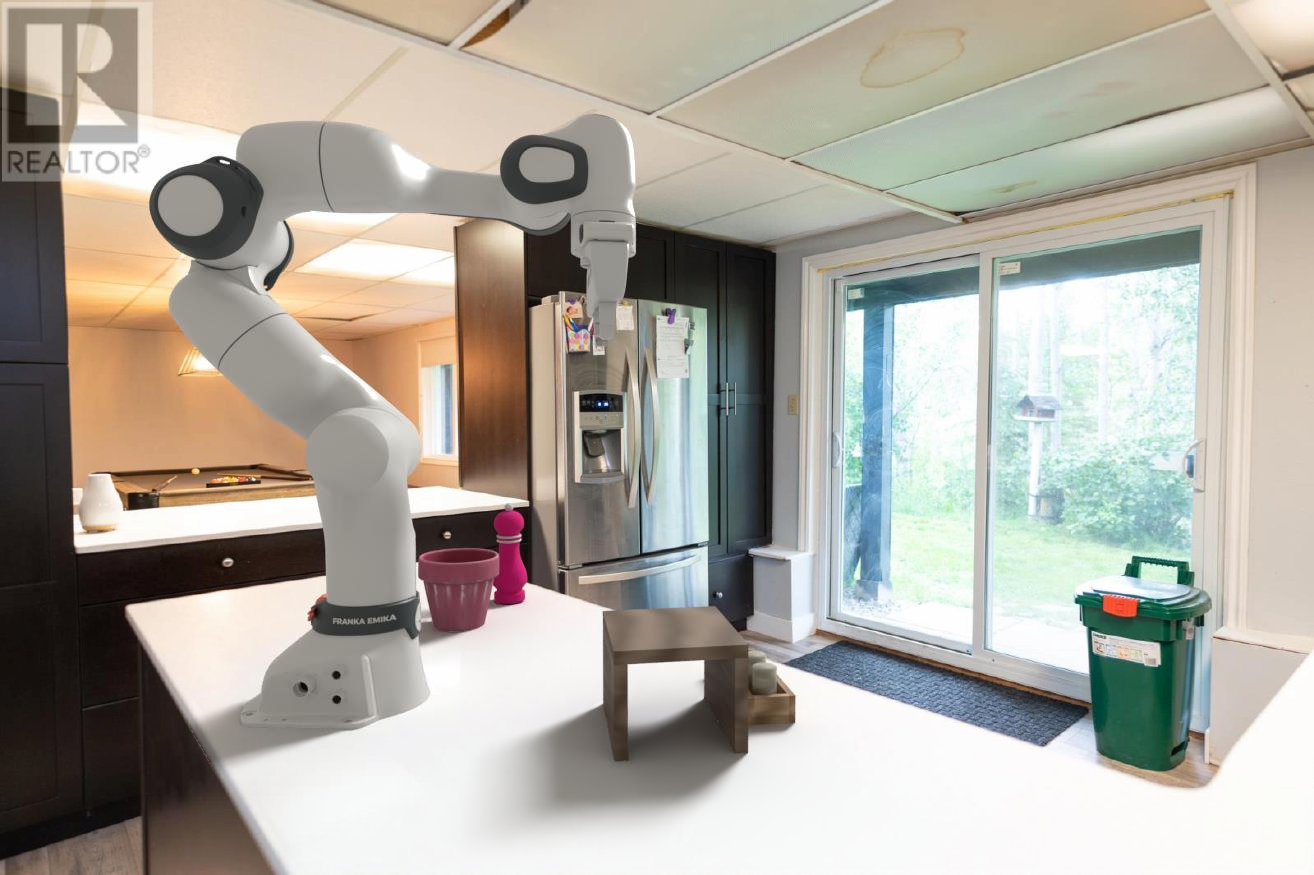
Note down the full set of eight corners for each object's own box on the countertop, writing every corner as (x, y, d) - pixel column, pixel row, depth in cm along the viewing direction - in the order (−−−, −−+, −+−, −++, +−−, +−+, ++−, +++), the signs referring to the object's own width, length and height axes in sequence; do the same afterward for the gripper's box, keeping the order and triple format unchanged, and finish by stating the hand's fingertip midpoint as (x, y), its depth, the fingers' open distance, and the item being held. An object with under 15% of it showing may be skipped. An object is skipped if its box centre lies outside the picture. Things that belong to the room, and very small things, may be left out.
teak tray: (748, 726, 87) (748, 676, 86) (714, 673, 104) (714, 631, 104) (795, 723, 87) (795, 673, 87) (753, 671, 105) (753, 629, 105)
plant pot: (516, 621, 131) (515, 552, 131) (457, 641, 119) (456, 566, 119) (462, 609, 139) (461, 544, 138) (401, 628, 127) (400, 557, 126)
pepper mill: (519, 605, 142) (518, 505, 141) (485, 603, 143) (484, 504, 143) (532, 596, 149) (532, 501, 148) (500, 594, 150) (499, 500, 150)
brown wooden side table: (614, 765, 77) (613, 651, 77) (603, 705, 93) (602, 611, 93) (748, 755, 79) (748, 644, 79) (715, 698, 95) (715, 606, 95)
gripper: (577, 257, 107) (577, 349, 107) (584, 220, 87) (584, 334, 87) (618, 258, 108) (619, 350, 108) (635, 222, 88) (635, 335, 88)
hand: (603, 343), depth 97 cm, fingers open, 8 cm apart
